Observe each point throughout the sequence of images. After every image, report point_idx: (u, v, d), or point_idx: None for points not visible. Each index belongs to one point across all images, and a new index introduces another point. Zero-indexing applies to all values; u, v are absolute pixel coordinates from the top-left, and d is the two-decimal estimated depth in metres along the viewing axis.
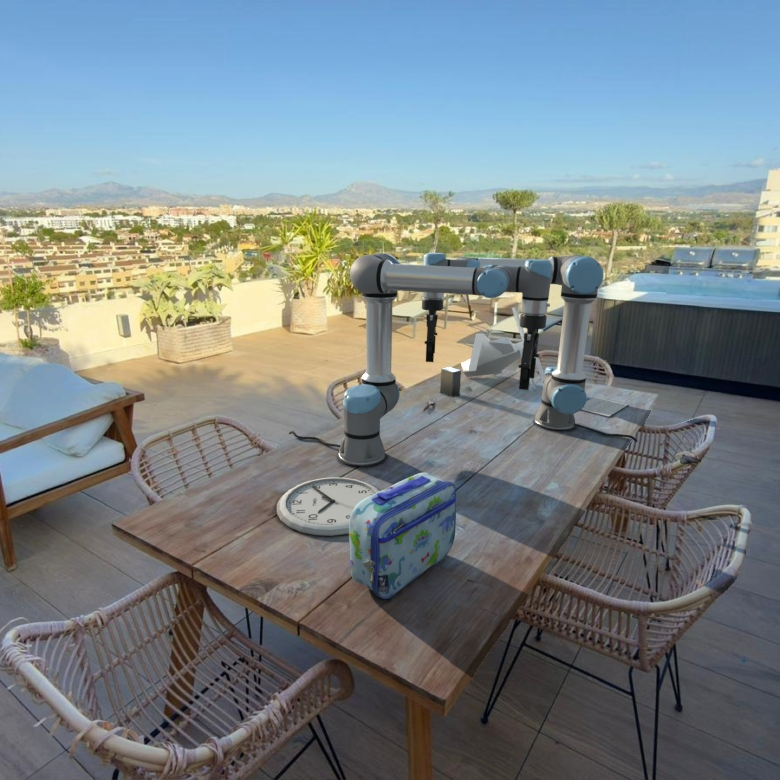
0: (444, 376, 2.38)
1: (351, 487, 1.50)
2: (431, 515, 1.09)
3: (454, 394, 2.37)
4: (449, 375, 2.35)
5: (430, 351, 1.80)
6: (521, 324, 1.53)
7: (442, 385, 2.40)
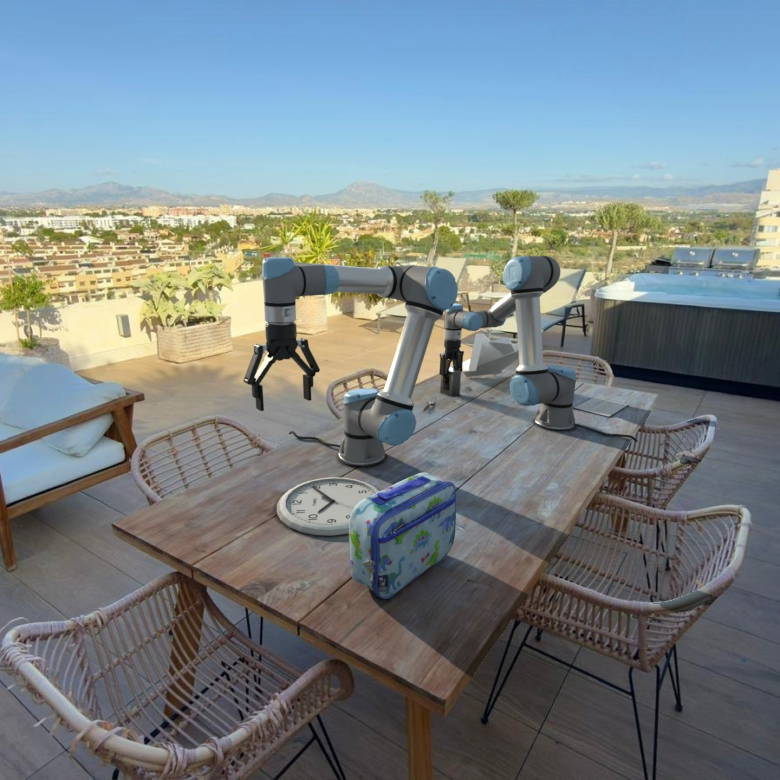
0: None
1: (351, 487, 1.50)
2: (431, 515, 1.09)
3: (454, 394, 2.37)
4: (449, 375, 2.35)
5: None
6: None
7: (442, 385, 2.40)
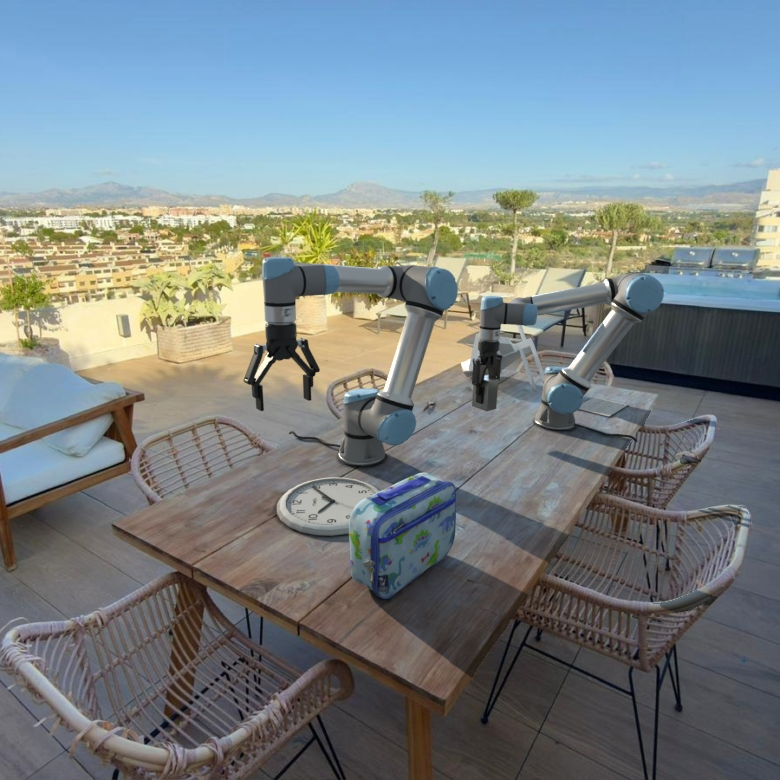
0: None
1: (351, 487, 1.50)
2: (431, 515, 1.09)
3: (490, 408, 1.91)
4: (484, 386, 1.89)
5: None
6: None
7: (475, 397, 1.94)
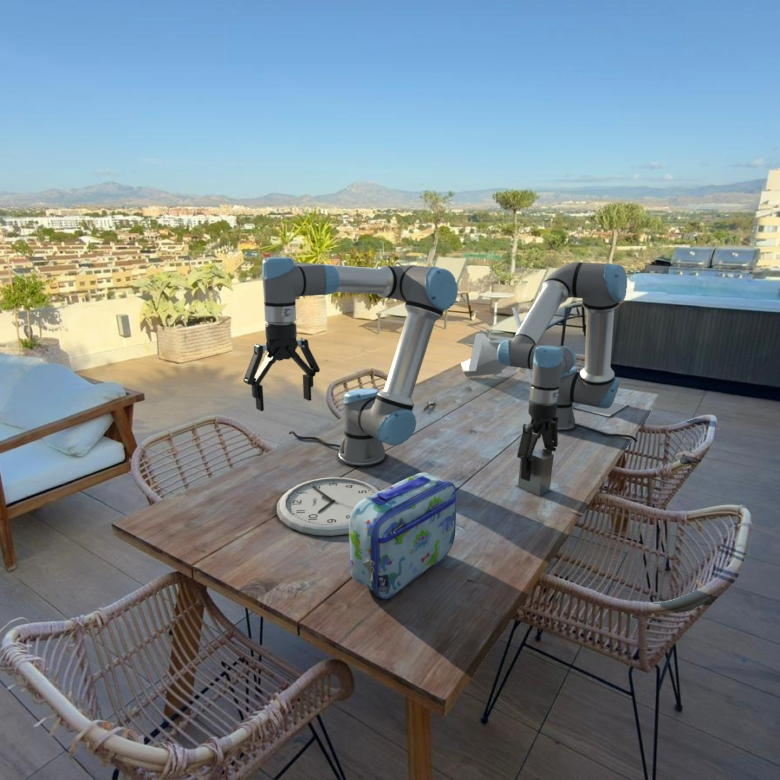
0: None
1: (351, 487, 1.50)
2: (431, 515, 1.09)
3: (542, 492, 1.51)
4: (536, 464, 1.49)
5: None
6: None
7: None
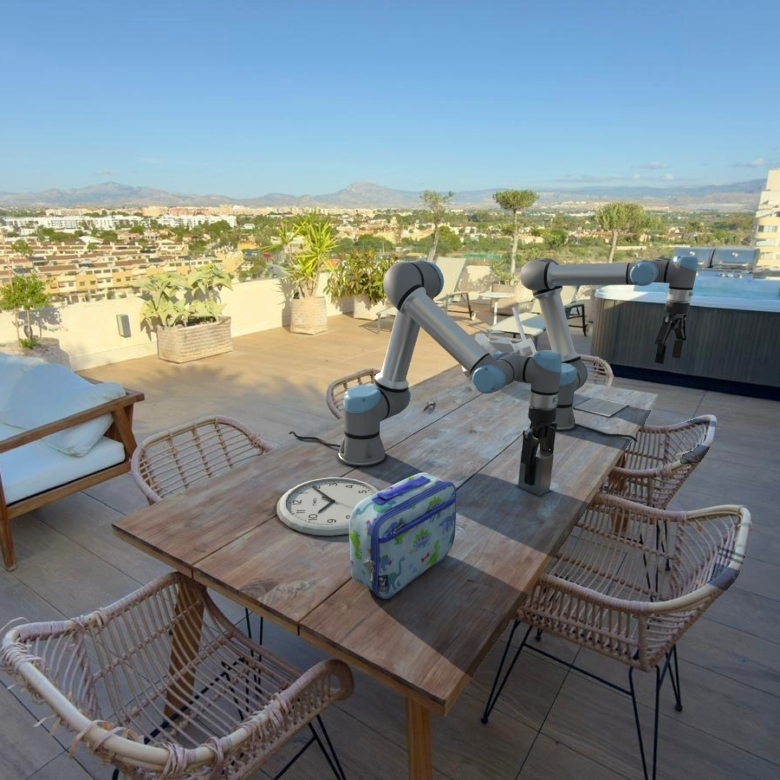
0: None
1: (351, 487, 1.50)
2: (431, 515, 1.09)
3: (542, 492, 1.51)
4: (536, 464, 1.48)
5: None
6: (528, 415, 1.48)
7: (522, 476, 1.53)
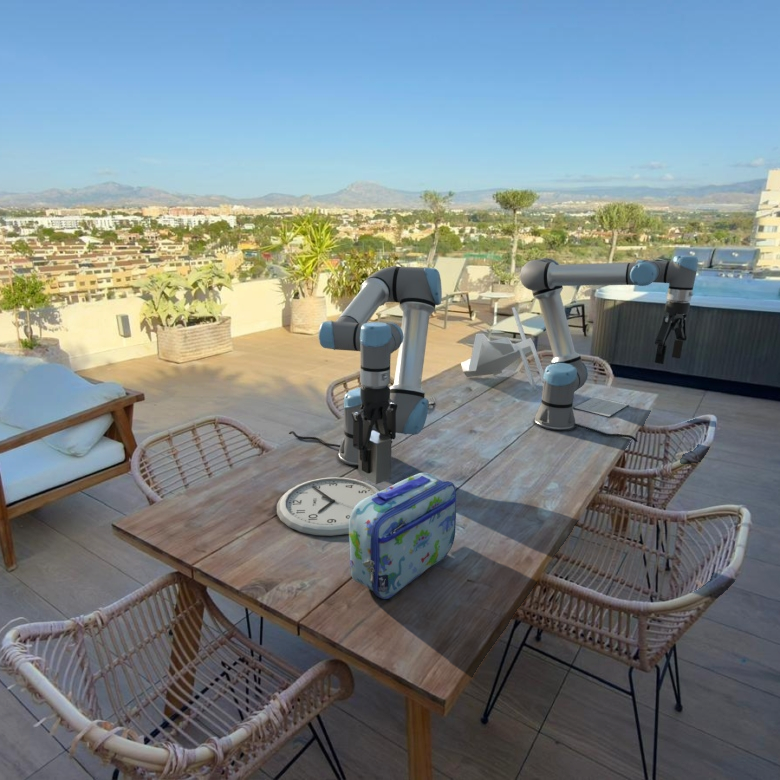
0: None
1: (351, 487, 1.50)
2: (431, 515, 1.09)
3: (380, 480, 1.36)
4: (371, 449, 1.34)
5: None
6: None
7: (361, 463, 1.39)
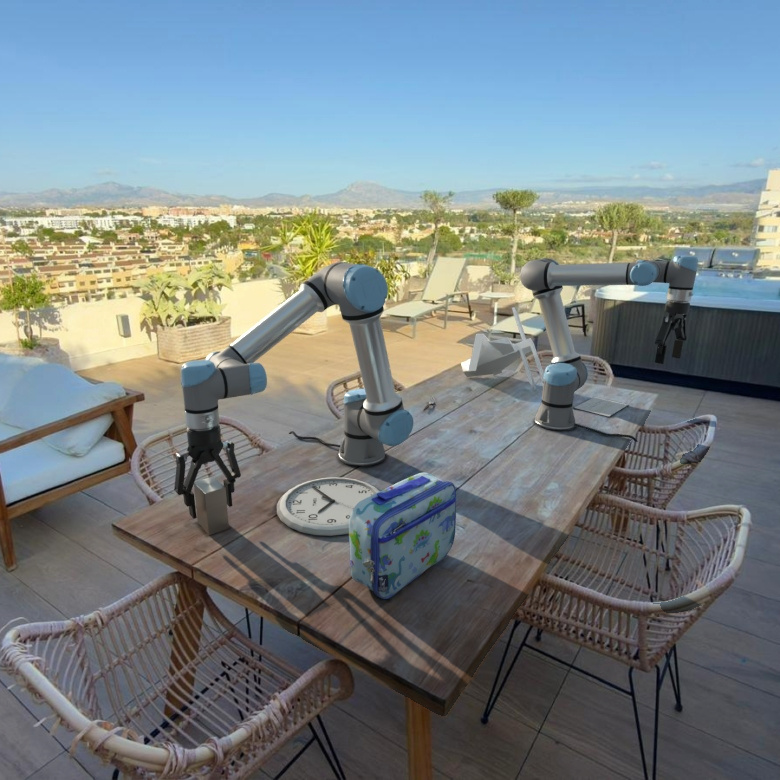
0: (198, 497, 1.29)
1: (351, 487, 1.50)
2: (431, 515, 1.09)
3: (215, 530, 1.29)
4: (202, 498, 1.27)
5: None
6: None
7: (198, 511, 1.31)
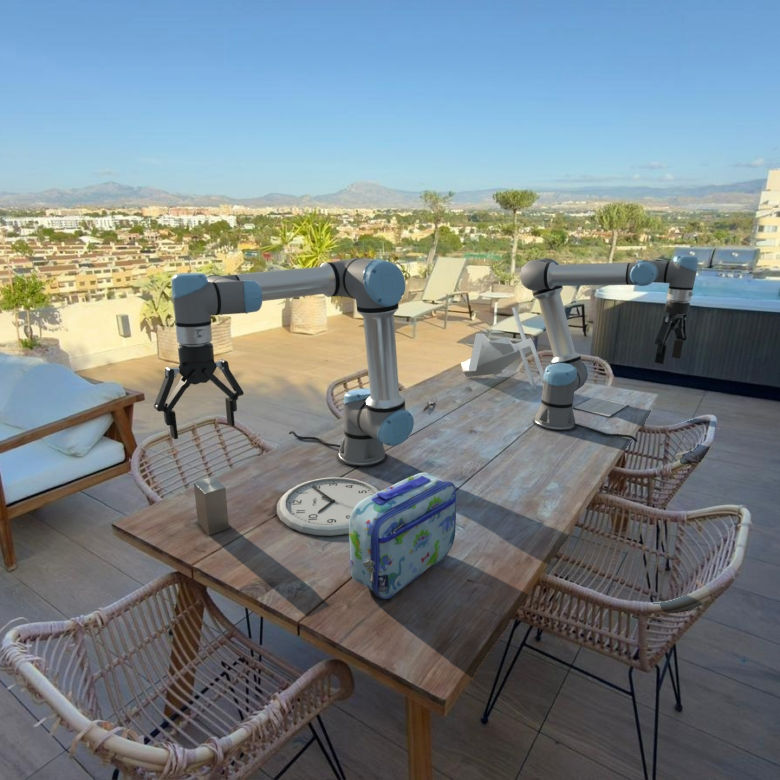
0: (198, 497, 1.29)
1: (351, 487, 1.50)
2: (431, 515, 1.09)
3: (215, 530, 1.29)
4: (202, 498, 1.27)
5: None
6: None
7: (198, 511, 1.31)
